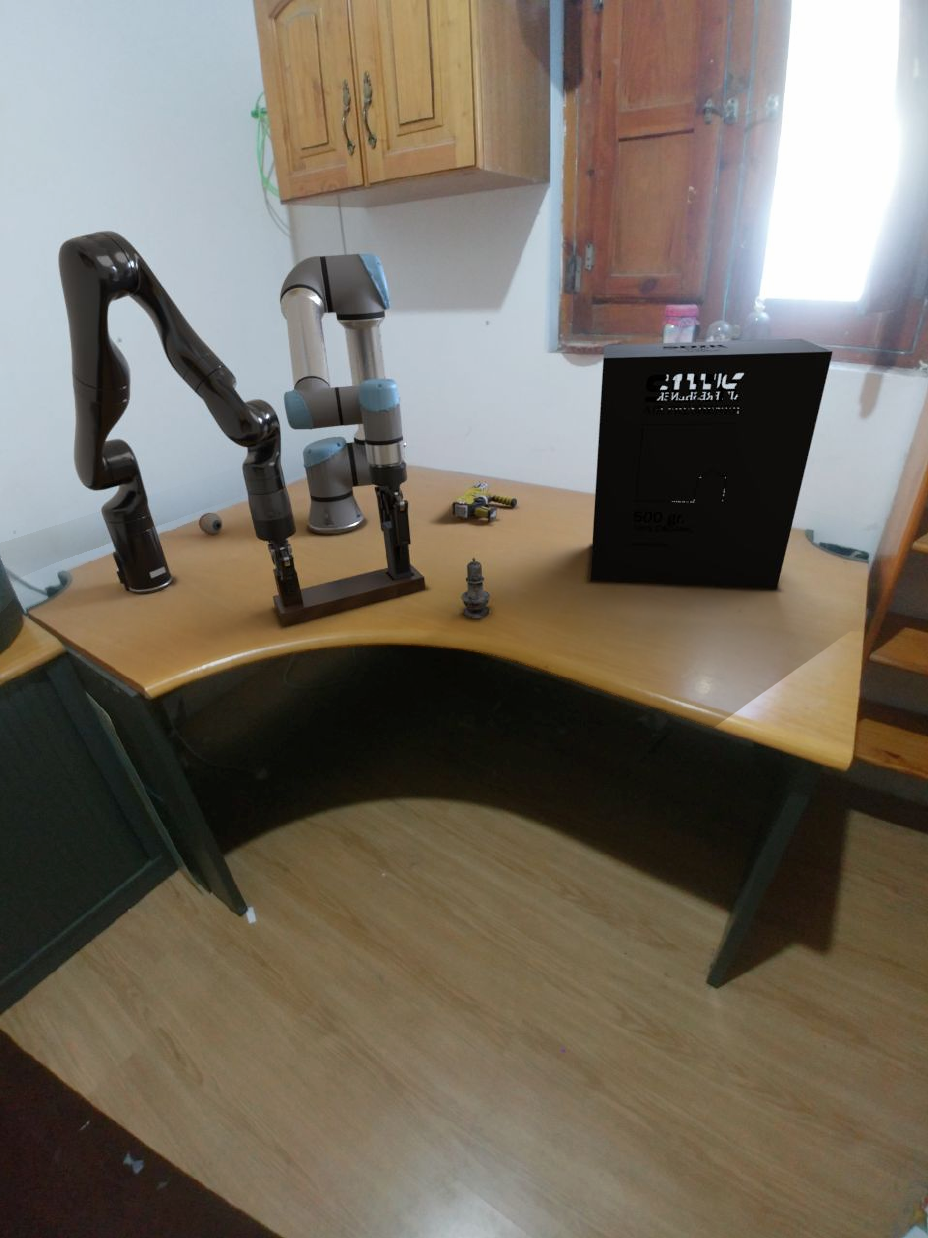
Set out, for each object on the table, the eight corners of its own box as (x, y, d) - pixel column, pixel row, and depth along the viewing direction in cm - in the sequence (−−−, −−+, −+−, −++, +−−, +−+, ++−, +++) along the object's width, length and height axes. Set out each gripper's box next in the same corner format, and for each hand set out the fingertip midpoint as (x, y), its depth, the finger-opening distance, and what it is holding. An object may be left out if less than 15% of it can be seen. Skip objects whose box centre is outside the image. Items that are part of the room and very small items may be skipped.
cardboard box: (756, 549, 141) (800, 338, 118) (776, 589, 124) (832, 351, 101) (592, 544, 148) (604, 344, 126) (590, 580, 131) (603, 357, 109)
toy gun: (525, 486, 181) (478, 479, 184) (503, 510, 160) (450, 501, 164) (523, 501, 183) (477, 494, 187) (501, 526, 163) (450, 518, 167)
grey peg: (394, 580, 131) (388, 528, 125) (388, 573, 134) (381, 522, 128) (411, 575, 132) (406, 524, 126) (405, 569, 136) (399, 518, 130)
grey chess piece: (488, 619, 119) (486, 564, 113) (459, 618, 120) (455, 563, 114) (493, 605, 124) (491, 551, 118) (465, 604, 125) (462, 550, 119)
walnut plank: (284, 626, 121) (273, 582, 116) (275, 608, 128) (265, 565, 123) (425, 589, 132) (421, 547, 127) (410, 573, 140) (405, 533, 135)
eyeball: (212, 539, 164) (206, 518, 161) (197, 535, 167) (191, 515, 164) (230, 531, 169) (224, 511, 166) (215, 528, 172) (210, 508, 169)
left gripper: (299, 518, 110) (316, 601, 119) (283, 497, 122) (299, 574, 130) (258, 527, 108) (277, 610, 116) (245, 505, 119) (264, 582, 128)
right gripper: (420, 469, 115) (430, 578, 127) (389, 450, 129) (401, 551, 140) (383, 475, 113) (397, 587, 124) (356, 456, 126) (370, 558, 138)
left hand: (289, 591), depth 123 cm, fingers closed on walnut plank, 4 cm apart
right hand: (399, 567), depth 132 cm, fingers closed on grey peg, 4 cm apart
